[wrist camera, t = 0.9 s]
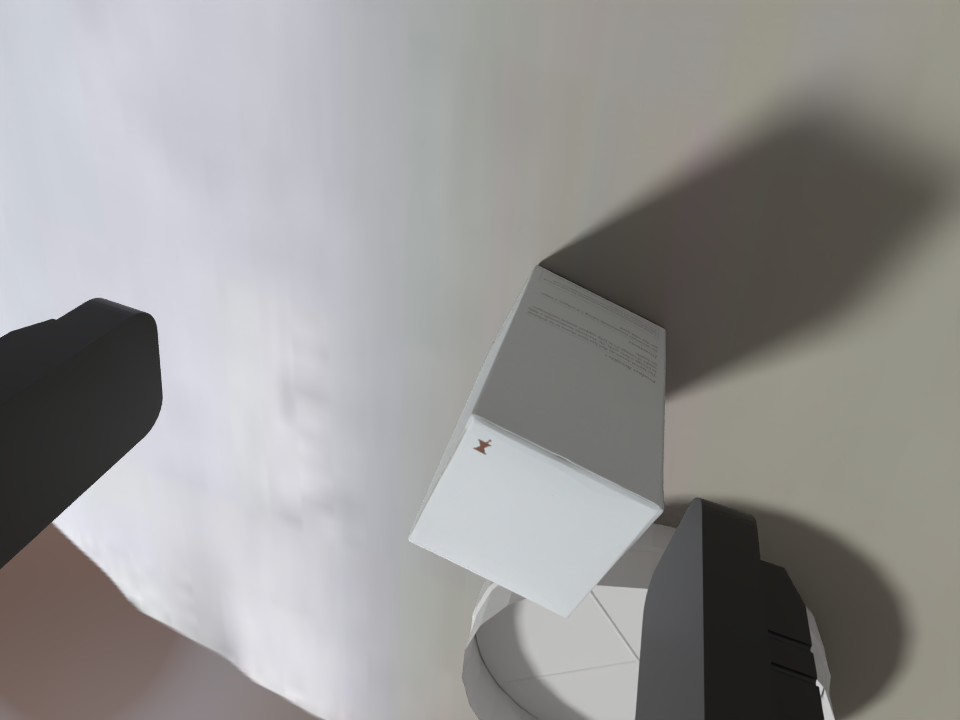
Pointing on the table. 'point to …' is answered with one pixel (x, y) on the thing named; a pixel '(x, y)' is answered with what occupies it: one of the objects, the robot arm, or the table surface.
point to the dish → (575, 647)
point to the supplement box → (554, 448)
